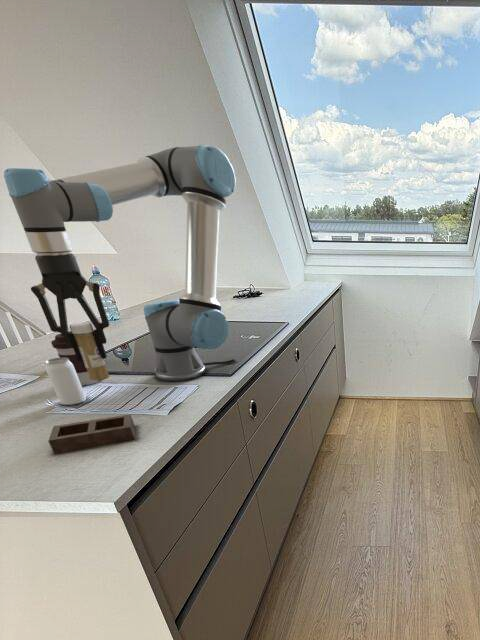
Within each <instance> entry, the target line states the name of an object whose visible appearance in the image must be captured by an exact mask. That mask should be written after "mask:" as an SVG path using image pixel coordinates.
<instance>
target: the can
mask: <svg viewBox="0 0 480 640" xmlns="http://www.w3.org/2000/svg"><path fill="white" fill-rule="evenodd" d="M44 363H45V368H44V369H45V371H46V373H47V376H48V378H49V381H50V382H51V385H52V387H53V389H54V392H55V394H56V396H57V399H58V401H59V403H60V404H62V406H75V405H79V404H82V403H85V402H86V400H87V396H86V393H85V391H84V388H83V385H81V383H80V381H79V378H78V376H77V373H76V371H75V368H74V366H73V364H72V363H71V362H70V361H69V358H60V357H54V358H50V359H47V360H45V361H44Z"/></svg>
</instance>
